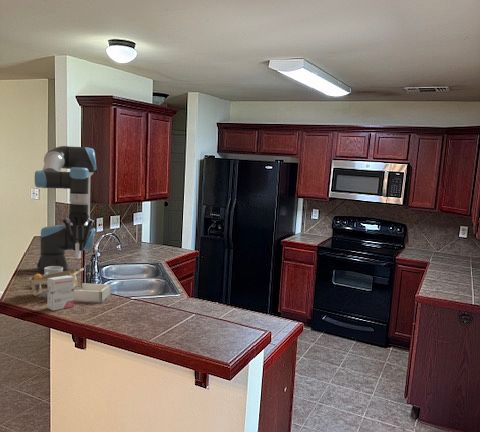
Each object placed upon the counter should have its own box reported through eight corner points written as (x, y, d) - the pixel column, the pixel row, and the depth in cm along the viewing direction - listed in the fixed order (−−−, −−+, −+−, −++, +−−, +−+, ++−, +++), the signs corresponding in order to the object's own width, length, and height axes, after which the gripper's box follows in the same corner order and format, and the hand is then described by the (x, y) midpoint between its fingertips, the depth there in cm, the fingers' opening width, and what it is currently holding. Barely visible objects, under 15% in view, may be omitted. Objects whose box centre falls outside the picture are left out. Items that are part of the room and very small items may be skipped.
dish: (82, 293, 192) (82, 283, 192) (110, 294, 192) (111, 284, 191) (71, 301, 180) (71, 290, 180) (101, 302, 180) (102, 291, 180)
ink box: (68, 304, 176) (69, 274, 175) (74, 306, 173) (74, 276, 172) (46, 308, 170) (46, 277, 169) (52, 311, 167) (52, 279, 166)
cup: (52, 289, 197) (52, 271, 196) (36, 287, 198) (36, 269, 197) (66, 283, 207) (66, 266, 206) (50, 282, 209) (51, 265, 208)
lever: (49, 287, 199) (45, 270, 198) (86, 279, 198) (82, 262, 197) (33, 296, 184) (28, 278, 183) (73, 287, 183) (68, 269, 182)
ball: (36, 280, 188) (35, 273, 187) (43, 280, 188) (42, 272, 187) (32, 282, 185) (31, 274, 184) (40, 281, 184) (39, 274, 184)
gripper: (60, 203, 188) (59, 258, 190) (90, 204, 188) (90, 260, 190) (67, 202, 196) (66, 255, 197) (96, 203, 195) (95, 257, 197)
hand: (78, 257), depth 194 cm, fingers closed
